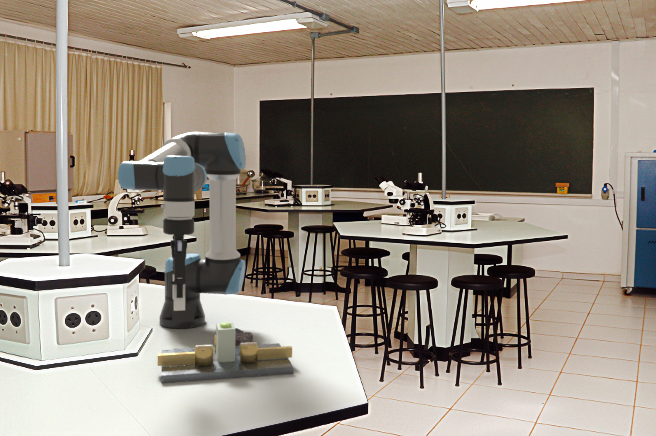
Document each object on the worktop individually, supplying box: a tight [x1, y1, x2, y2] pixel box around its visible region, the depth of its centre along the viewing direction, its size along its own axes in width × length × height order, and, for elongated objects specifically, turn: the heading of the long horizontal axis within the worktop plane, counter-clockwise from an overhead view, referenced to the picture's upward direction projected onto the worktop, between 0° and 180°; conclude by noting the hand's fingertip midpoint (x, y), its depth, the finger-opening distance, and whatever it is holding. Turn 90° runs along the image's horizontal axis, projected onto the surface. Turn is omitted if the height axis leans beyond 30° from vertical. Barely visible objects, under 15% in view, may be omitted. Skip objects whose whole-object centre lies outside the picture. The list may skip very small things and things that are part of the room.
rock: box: [214, 327, 254, 346], centre depth 185 cm, size 8×11×5 cm
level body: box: [215, 322, 236, 362], centre depth 167 cm, size 6×5×10 cm
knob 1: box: [157, 344, 214, 367], centre depth 161 cm, size 14×5×5 cm, turn 105°
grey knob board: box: [160, 334, 294, 384], centre depth 167 cm, size 20×34×6 cm, turn 105°
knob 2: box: [239, 341, 293, 362], centre depth 167 cm, size 14×5×5 cm, turn 106°
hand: (178, 304), depth 153 cm, fingers open, 11 cm apart
